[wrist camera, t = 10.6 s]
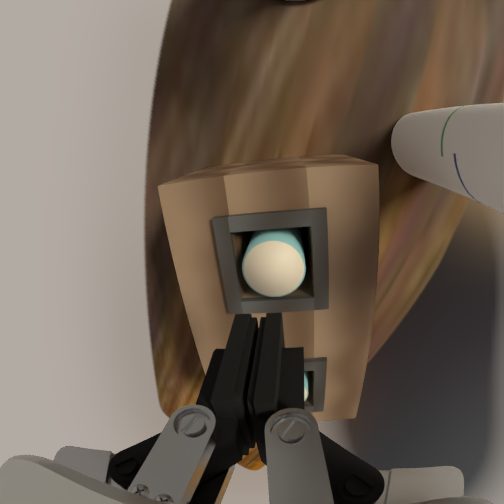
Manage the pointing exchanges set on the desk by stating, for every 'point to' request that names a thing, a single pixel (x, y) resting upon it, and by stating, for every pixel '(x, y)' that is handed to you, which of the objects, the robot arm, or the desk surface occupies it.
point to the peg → (275, 261)
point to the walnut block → (315, 252)
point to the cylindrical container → (455, 150)
